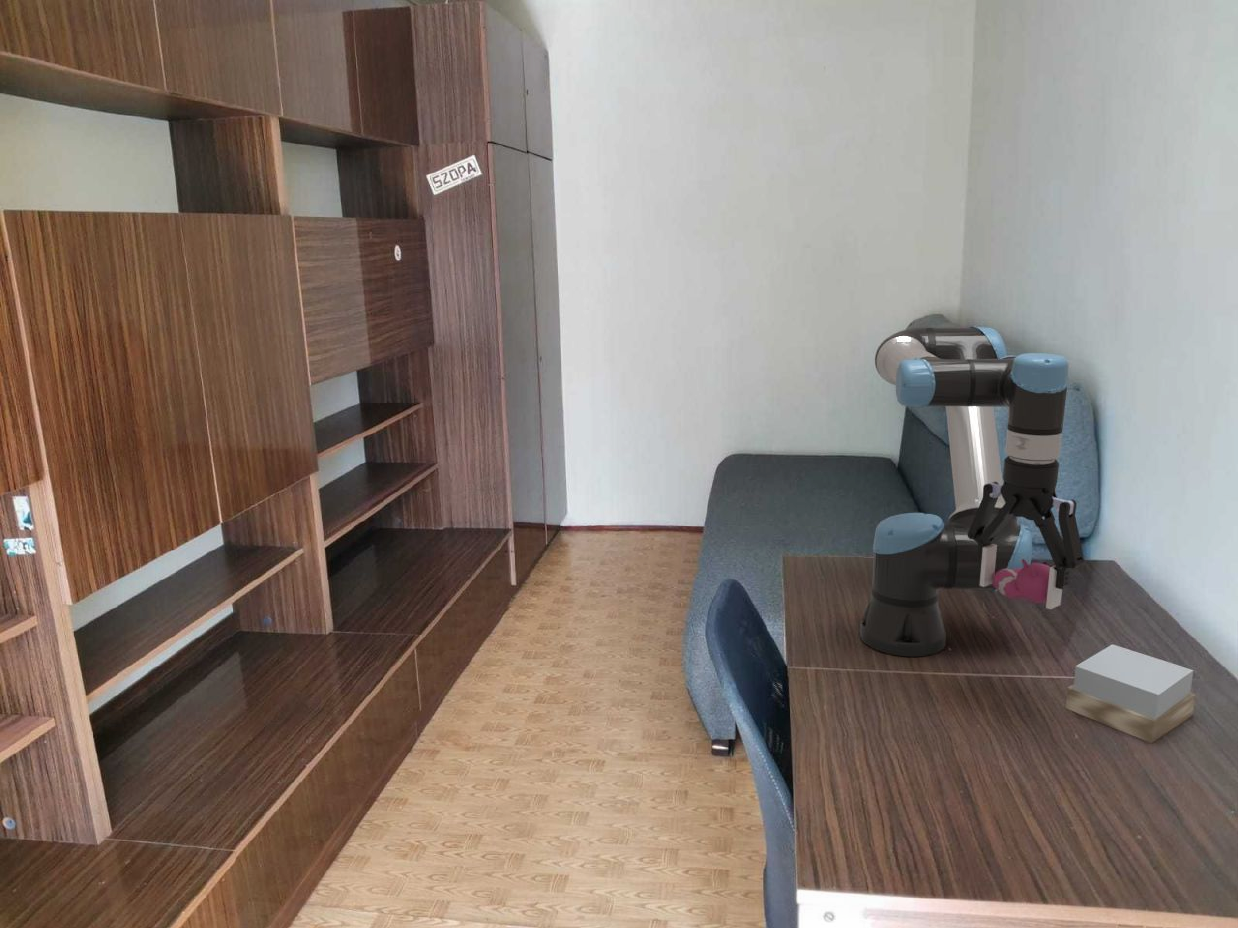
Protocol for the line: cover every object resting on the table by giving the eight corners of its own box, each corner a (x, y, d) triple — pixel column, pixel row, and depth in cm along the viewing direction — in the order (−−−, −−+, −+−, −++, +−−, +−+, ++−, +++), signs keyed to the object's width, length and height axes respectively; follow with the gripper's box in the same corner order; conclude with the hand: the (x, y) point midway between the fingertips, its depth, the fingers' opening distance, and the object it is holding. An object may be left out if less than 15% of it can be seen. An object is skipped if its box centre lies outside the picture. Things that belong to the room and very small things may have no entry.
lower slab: (1065, 710, 144) (1067, 687, 143) (1107, 686, 151) (1109, 664, 150) (1151, 745, 133) (1154, 721, 132) (1192, 718, 141) (1195, 694, 140)
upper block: (1073, 689, 142) (1075, 666, 141) (1109, 666, 149) (1112, 644, 148) (1155, 719, 133) (1158, 694, 132) (1190, 694, 140) (1193, 670, 139)
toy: (1084, 606, 139) (1059, 560, 136) (1032, 637, 141) (1006, 592, 137) (1045, 570, 150) (1021, 527, 146) (997, 599, 151) (972, 556, 147)
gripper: (950, 448, 144) (940, 578, 149) (1094, 478, 125) (1078, 626, 131) (978, 440, 148) (968, 568, 153) (1122, 469, 130) (1105, 612, 135)
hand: (1018, 595), depth 142 cm, fingers closed on toy, 10 cm apart
